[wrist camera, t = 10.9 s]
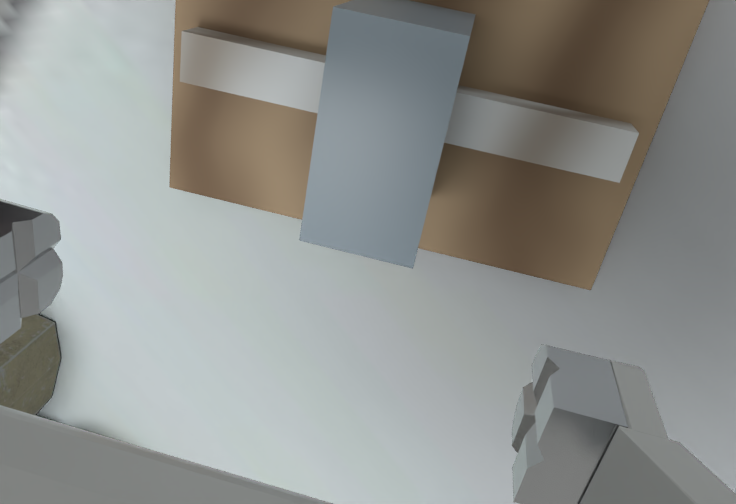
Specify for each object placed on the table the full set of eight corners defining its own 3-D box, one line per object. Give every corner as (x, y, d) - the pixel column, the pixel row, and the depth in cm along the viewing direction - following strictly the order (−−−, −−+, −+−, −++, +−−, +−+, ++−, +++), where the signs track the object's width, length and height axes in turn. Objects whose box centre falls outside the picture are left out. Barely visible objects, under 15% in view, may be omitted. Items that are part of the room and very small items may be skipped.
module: (475, 14, 23) (470, 36, 17) (430, 196, 27) (413, 268, 21) (373, -7, 24) (333, 6, 18) (342, 175, 27) (299, 240, 21)
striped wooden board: (709, -23, 22) (733, -21, 20) (587, 279, 28) (595, 307, 26) (191, -128, 24) (161, -136, 22) (178, 180, 30) (154, 198, 28)
